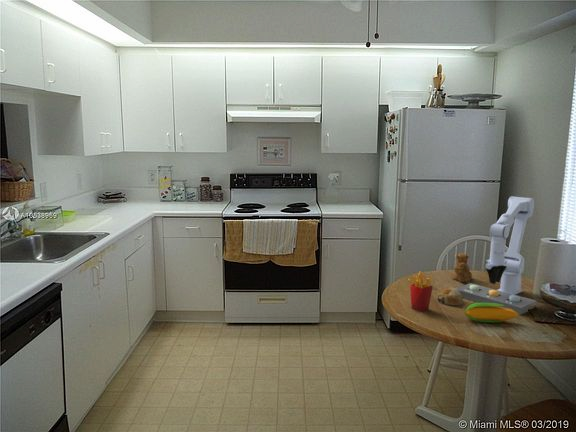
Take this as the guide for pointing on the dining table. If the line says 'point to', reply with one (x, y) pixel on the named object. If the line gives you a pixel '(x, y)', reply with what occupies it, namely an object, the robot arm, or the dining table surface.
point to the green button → (474, 287)
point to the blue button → (514, 298)
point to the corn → (489, 312)
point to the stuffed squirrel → (462, 269)
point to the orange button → (494, 293)
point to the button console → (495, 298)
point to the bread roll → (450, 297)
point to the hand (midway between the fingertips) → (494, 282)
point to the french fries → (420, 292)
